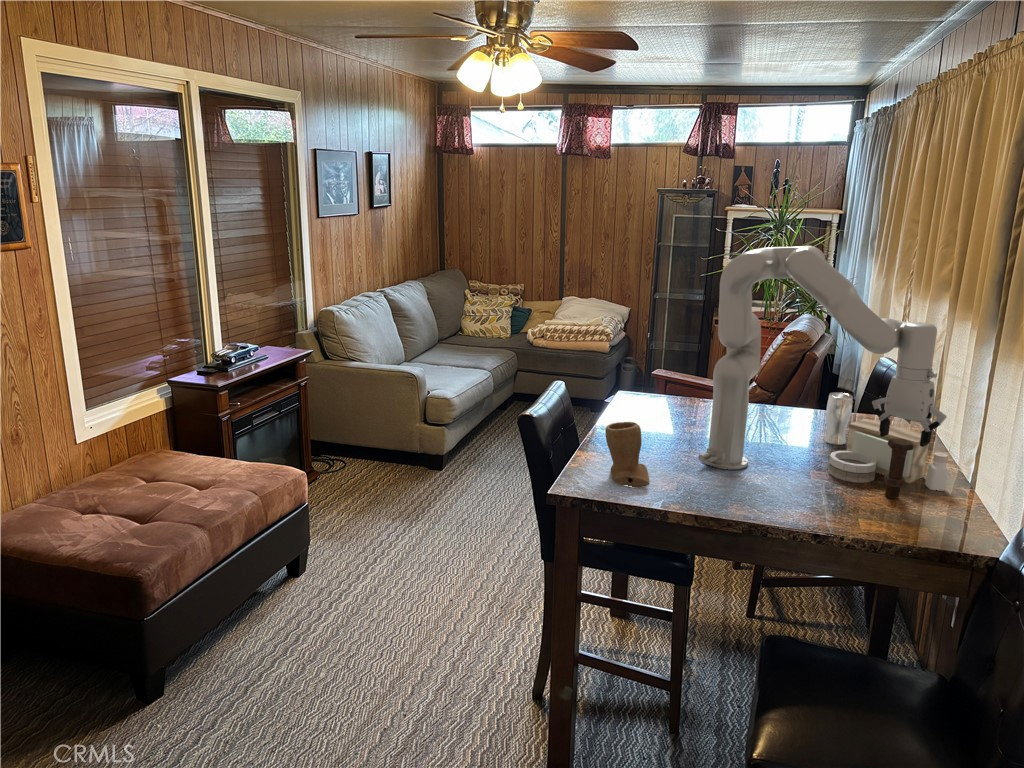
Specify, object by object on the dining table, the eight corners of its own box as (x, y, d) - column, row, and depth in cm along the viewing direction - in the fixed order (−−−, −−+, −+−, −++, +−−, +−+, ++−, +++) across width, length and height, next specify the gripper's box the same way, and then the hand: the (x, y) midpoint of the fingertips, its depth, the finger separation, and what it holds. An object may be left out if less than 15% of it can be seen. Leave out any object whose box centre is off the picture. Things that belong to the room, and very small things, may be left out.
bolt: (906, 502, 182) (915, 446, 178) (884, 500, 183) (893, 444, 179) (898, 493, 188) (908, 438, 184) (877, 491, 188) (886, 436, 185)
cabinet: (887, 495, 186) (894, 451, 183) (819, 472, 201) (825, 431, 197) (924, 476, 199) (932, 436, 196) (858, 456, 213) (864, 418, 210)
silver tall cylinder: (851, 444, 224) (858, 397, 220) (834, 446, 221) (841, 399, 217) (834, 437, 230) (840, 391, 226) (817, 439, 227) (823, 393, 223)
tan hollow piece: (603, 466, 202) (606, 415, 198) (646, 469, 200) (650, 417, 197) (602, 488, 187) (605, 433, 183) (649, 491, 186) (653, 435, 182)
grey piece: (881, 484, 186) (885, 456, 184) (820, 461, 201) (824, 435, 199) (908, 476, 191) (913, 449, 189) (847, 454, 206) (851, 429, 204)
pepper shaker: (924, 484, 193) (930, 451, 191) (940, 486, 193) (946, 452, 190) (929, 490, 190) (935, 456, 187) (946, 492, 189) (952, 457, 186)
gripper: (958, 378, 172) (947, 446, 177) (884, 365, 186) (876, 429, 190) (944, 382, 168) (933, 452, 172) (870, 369, 181) (861, 434, 185)
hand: (903, 440), depth 181 cm, fingers open, 9 cm apart
